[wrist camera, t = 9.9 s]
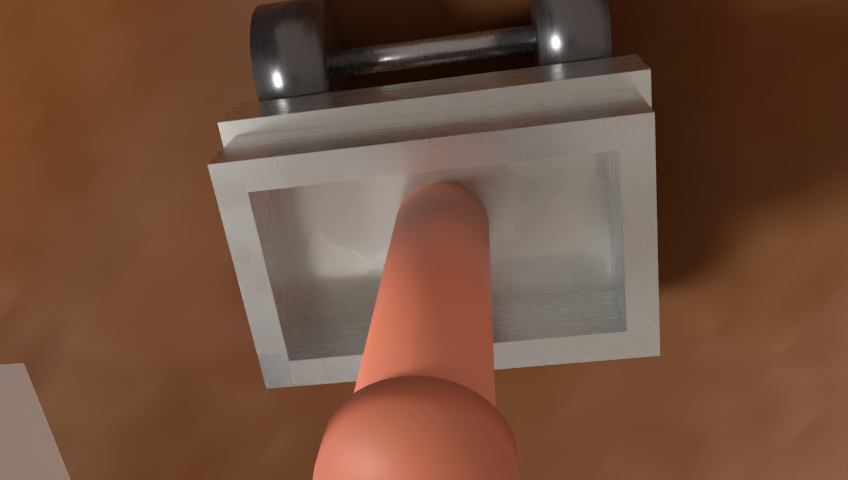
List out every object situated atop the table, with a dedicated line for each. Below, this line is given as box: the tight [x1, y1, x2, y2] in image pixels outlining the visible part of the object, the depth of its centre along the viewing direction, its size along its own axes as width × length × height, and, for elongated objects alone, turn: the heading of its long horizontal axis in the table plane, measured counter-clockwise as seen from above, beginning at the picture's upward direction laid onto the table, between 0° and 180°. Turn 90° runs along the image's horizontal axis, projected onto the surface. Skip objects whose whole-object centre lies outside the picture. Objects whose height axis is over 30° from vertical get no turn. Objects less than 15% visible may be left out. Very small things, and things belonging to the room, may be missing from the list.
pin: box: [313, 182, 519, 480], centre depth 21 cm, size 4×4×13 cm
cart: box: [208, 0, 660, 389], centre depth 29 cm, size 14×15×10 cm
